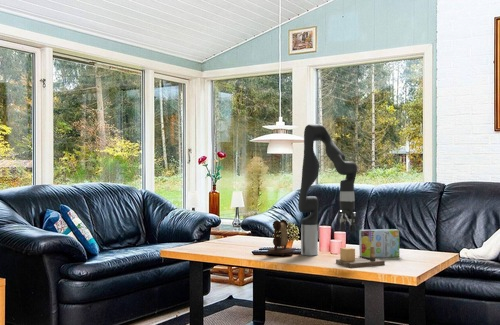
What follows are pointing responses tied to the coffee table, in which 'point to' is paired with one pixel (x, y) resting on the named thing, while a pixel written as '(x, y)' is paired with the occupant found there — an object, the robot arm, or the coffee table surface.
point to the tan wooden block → (347, 254)
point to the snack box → (379, 242)
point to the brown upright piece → (280, 239)
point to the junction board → (362, 260)
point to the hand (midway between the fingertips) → (347, 231)
